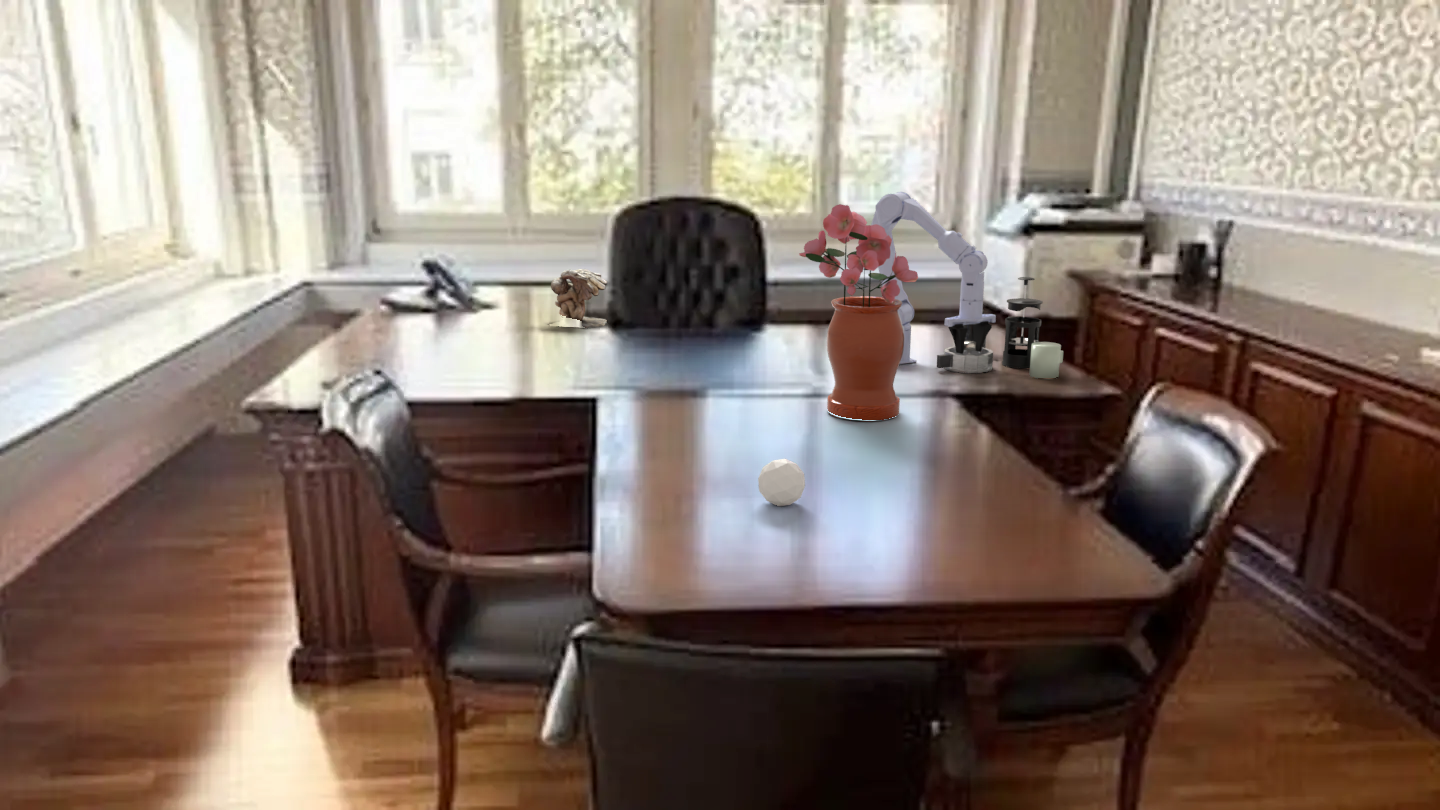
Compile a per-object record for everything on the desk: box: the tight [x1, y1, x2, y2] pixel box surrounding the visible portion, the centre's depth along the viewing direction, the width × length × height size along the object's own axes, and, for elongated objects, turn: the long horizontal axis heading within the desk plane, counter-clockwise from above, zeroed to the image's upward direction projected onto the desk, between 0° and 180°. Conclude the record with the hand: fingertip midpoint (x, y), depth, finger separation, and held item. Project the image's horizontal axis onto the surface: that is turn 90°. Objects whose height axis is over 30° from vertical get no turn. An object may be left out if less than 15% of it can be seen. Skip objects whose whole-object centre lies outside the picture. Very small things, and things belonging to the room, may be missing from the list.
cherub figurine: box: [550, 268, 608, 329], centre depth 334 cm, size 18×18×18 cm
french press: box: [1001, 276, 1044, 370], centre depth 273 cm, size 12×9×23 cm
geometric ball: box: [757, 458, 806, 507], centre depth 174 cm, size 8×8×8 cm
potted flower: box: [798, 203, 919, 421], centre depth 226 cm, size 19×25×45 cm
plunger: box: [964, 341, 976, 355], centre depth 271 cm, size 9×9×6 cm
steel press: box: [936, 346, 994, 374], centre depth 270 cm, size 15×12×5 cm
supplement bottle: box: [963, 309, 987, 348], centre depth 288 cm, size 7×7×12 cm
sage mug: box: [1028, 341, 1064, 379], centre depth 262 cm, size 9×7×8 cm
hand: (968, 351), depth 270 cm, fingers open, 5 cm apart
